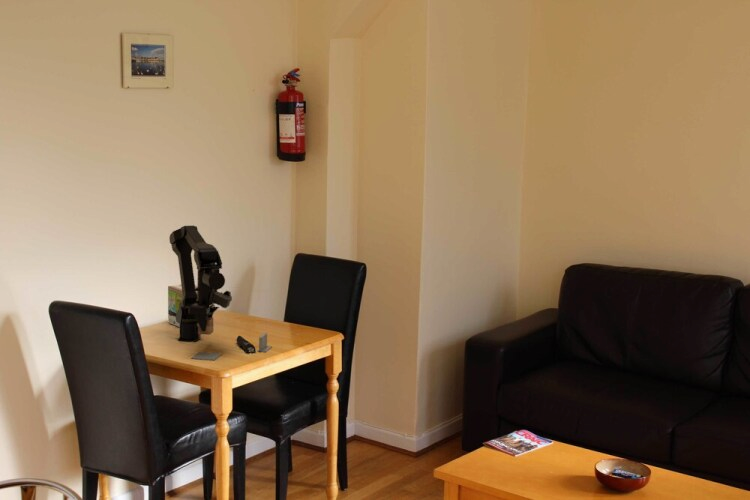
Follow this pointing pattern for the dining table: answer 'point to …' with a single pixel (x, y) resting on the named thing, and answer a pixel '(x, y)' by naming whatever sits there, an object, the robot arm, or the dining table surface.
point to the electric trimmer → (245, 345)
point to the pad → (206, 356)
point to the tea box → (174, 302)
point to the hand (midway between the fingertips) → (205, 329)
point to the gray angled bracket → (263, 343)
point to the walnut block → (207, 327)
